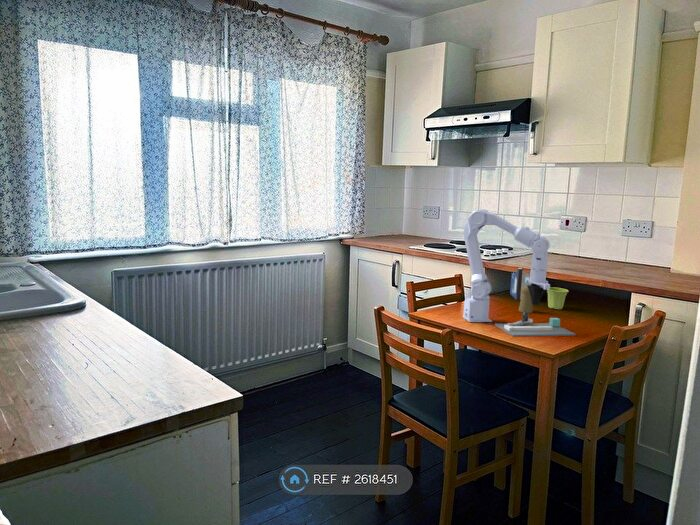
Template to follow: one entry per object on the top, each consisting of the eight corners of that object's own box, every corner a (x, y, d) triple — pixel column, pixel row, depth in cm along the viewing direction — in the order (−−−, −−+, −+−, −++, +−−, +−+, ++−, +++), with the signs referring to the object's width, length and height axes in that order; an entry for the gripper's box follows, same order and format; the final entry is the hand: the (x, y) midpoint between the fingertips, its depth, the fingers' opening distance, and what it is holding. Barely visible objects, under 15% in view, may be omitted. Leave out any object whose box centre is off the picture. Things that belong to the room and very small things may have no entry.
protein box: (530, 294, 267) (533, 264, 265) (538, 301, 252) (541, 269, 250) (509, 293, 268) (512, 263, 266) (515, 300, 253) (518, 268, 251)
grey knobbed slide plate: (512, 336, 190) (513, 329, 190) (494, 325, 205) (494, 319, 204) (575, 335, 194) (576, 329, 194) (553, 324, 209) (553, 318, 209)
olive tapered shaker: (533, 313, 227) (536, 288, 225) (519, 312, 228) (521, 287, 226) (531, 310, 233) (534, 285, 231) (517, 309, 234) (519, 284, 232)
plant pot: (559, 305, 245) (561, 287, 244) (570, 310, 236) (572, 291, 234) (540, 305, 243) (542, 287, 242) (551, 310, 234) (553, 291, 233)
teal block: (552, 326, 203) (553, 319, 202) (549, 324, 205) (549, 317, 205) (559, 326, 203) (560, 319, 203) (556, 324, 206) (556, 317, 205)
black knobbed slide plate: (515, 327, 198) (516, 316, 198) (509, 326, 200) (510, 315, 199) (532, 322, 208) (533, 311, 207) (527, 320, 210) (528, 310, 209)
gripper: (558, 272, 193) (555, 308, 195) (538, 266, 207) (534, 300, 209) (541, 272, 191) (537, 308, 193) (521, 266, 206) (518, 300, 208)
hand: (535, 304), depth 201 cm, fingers closed
